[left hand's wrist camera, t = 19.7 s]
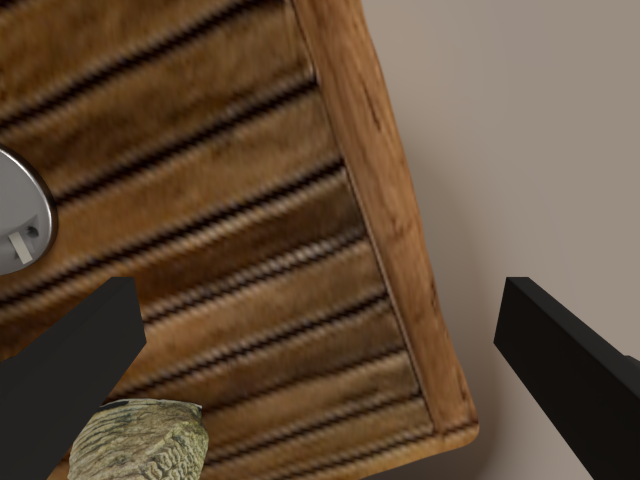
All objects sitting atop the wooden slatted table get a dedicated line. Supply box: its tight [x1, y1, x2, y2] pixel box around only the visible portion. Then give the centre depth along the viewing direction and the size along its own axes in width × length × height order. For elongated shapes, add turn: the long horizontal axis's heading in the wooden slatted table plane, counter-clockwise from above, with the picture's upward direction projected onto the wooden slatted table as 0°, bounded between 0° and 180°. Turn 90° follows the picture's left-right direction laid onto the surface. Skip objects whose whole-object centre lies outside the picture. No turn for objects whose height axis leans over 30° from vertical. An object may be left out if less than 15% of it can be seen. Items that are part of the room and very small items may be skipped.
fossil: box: [67, 399, 209, 480], centre depth 44 cm, size 9×18×15 cm, turn 106°
